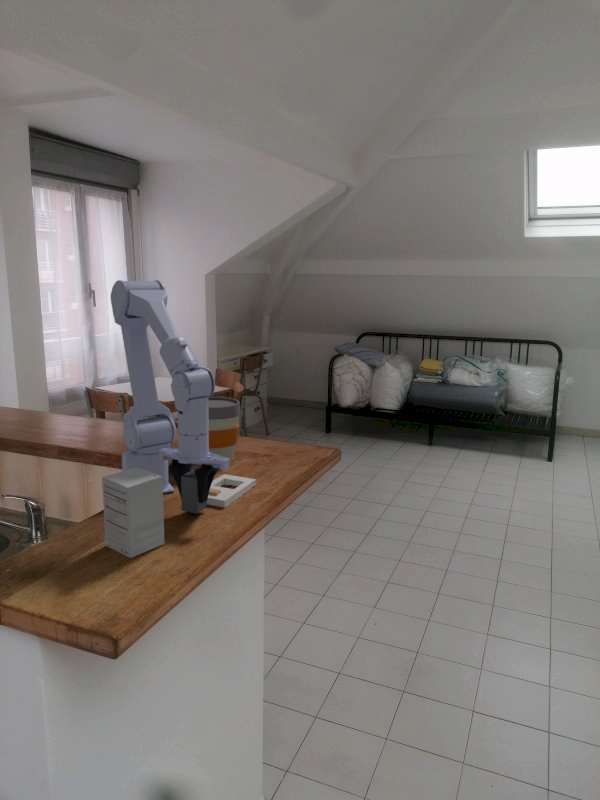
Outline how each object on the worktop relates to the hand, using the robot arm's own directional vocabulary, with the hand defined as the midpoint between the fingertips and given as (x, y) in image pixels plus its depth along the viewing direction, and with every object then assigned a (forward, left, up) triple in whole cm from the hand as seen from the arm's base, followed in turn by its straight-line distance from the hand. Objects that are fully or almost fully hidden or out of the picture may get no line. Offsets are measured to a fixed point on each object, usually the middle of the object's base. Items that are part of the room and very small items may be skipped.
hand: (194, 499), depth 122 cm
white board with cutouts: (+9, +8, -3) cm, 12 cm away
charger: (0, 0, -2) cm, 2 cm away
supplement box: (-13, -10, -3) cm, 17 cm away
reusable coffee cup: (+14, +29, -3) cm, 33 cm away
